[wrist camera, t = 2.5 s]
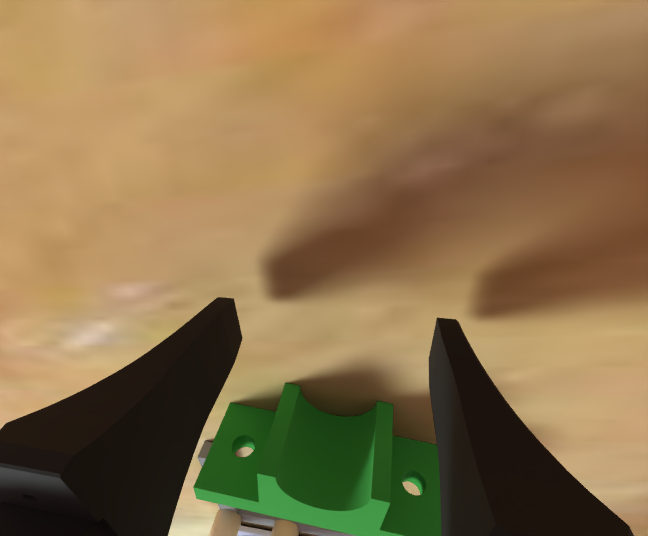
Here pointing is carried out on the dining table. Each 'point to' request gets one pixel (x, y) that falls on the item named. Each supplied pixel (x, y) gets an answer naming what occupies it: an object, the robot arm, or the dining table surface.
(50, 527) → the robot arm
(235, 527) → the peg cradle
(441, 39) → the dining table surface
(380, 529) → the pipe clamp
